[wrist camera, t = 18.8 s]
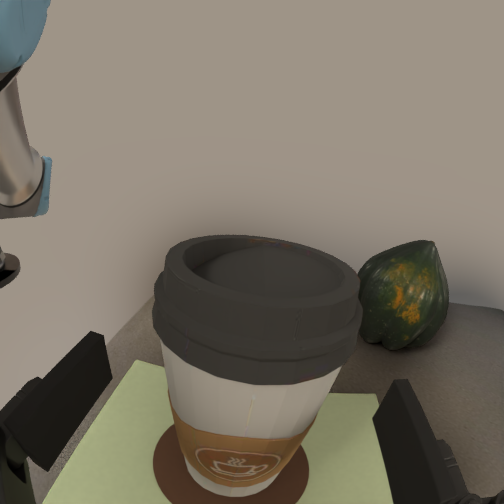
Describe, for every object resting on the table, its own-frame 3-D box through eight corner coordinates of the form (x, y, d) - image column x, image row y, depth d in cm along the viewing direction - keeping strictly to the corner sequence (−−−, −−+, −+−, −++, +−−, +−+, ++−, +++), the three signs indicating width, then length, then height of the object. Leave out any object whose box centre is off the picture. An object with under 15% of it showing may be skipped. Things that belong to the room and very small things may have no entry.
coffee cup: (160, 499, 11) (104, 291, 6) (184, 413, 19) (184, 224, 14) (294, 513, 11) (416, 326, 6) (287, 424, 19) (340, 244, 14)
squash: (315, 292, 33) (418, 223, 25) (351, 270, 45) (423, 221, 36) (367, 385, 30) (474, 335, 21) (390, 340, 41) (464, 298, 33)
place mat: (36, 521, 5) (31, 518, 5) (136, 362, 24) (136, 357, 24) (415, 572, 4) (421, 570, 4) (373, 396, 23) (376, 392, 23)
